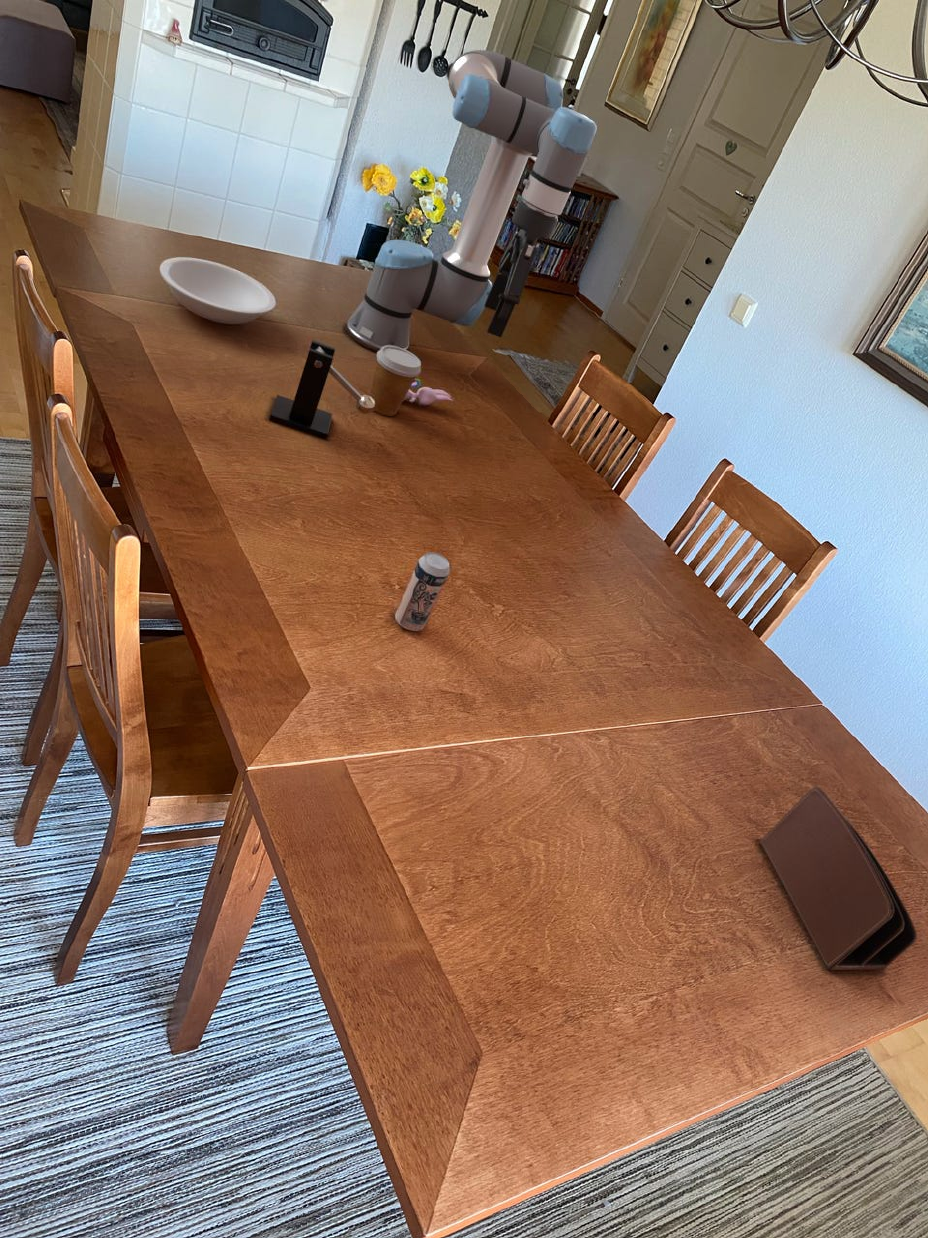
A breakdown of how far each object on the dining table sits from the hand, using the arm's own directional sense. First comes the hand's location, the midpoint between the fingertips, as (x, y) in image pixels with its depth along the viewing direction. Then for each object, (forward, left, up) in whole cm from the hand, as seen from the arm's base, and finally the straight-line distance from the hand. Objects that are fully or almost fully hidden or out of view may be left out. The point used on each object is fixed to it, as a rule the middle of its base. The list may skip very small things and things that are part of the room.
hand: (492, 321), depth 172 cm
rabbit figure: (-17, -10, -29) cm, 35 cm away
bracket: (+14, -25, -29) cm, 41 cm away
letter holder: (+75, +80, -29) cm, 113 cm away
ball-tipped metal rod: (+13, -20, -20) cm, 32 cm away
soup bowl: (-12, -57, -29) cm, 65 cm away
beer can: (+58, +12, -29) cm, 66 cm away
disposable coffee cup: (-7, -15, -29) cm, 33 cm away
